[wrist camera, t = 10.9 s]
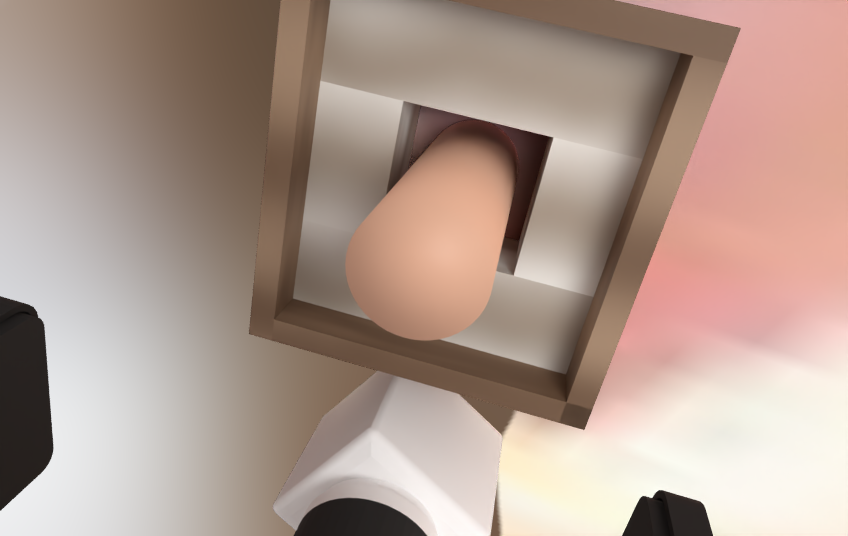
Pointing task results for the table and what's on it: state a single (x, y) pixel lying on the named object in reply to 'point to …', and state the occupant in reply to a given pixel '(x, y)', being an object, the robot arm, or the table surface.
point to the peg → (437, 235)
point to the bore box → (553, 193)
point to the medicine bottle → (395, 466)
